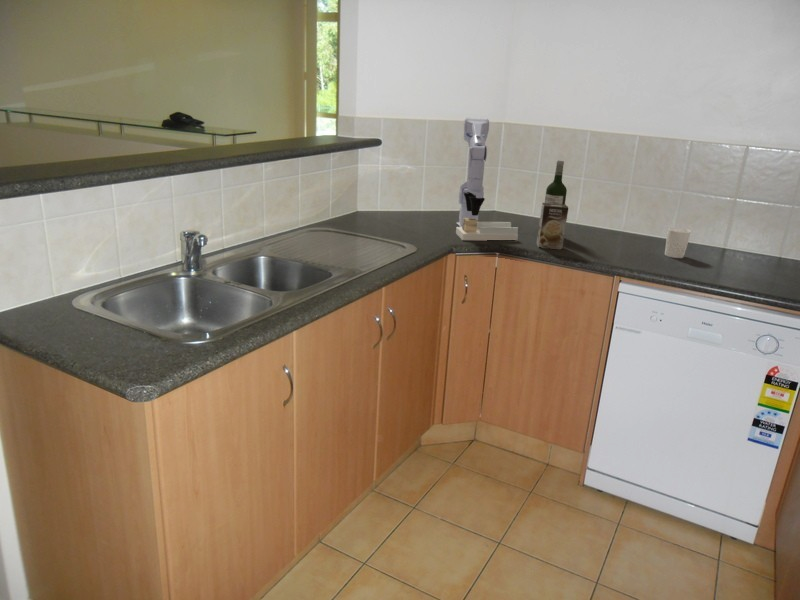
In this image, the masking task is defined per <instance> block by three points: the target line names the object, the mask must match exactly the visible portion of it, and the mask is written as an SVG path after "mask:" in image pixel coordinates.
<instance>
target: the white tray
mask: <svg viewBox="0 0 800 600" xmlns="http://www.w3.org/2000/svg"><path fill="white" fill-rule="evenodd" d="M455 229H456V230H455V234H456V235H457V237H459V238H460V240H461V241H487V240H517V241H518V237H519V233H518V232H519V227H518V226H517V227H515V226H513V227H512V222H511V221H478V222H477V229H476V232H465V231H464V230H463V229H462V227H460V226H456V227H455Z"/></svg>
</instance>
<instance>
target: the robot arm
mask: <svg viewBox="0 0 800 600" xmlns="http://www.w3.org/2000/svg"><path fill="white" fill-rule="evenodd" d="M463 126H464V127H463V139H464V141H465V142H467V144H468V161H467V162H468V163H467V176H466V177H467V178H466V179H467V180H466V181H465V182H463V183H462V184H460V187H459V194H458V204H459V205H461V206H460V208H459V216H458V221H456V225H457V226H458V227H462V225H463V218H475V219H476V220H477V222H479V213H480V210H481V207H482V206H483V205H484V204H483V203H484V202H485V199H486V198H485V197H484V196H485V195H484V193H485V192H484V186H483V182H484V173H485V172H484V171H485V165H486V164H485V162H486V161H487V156H488V146H487V145H486V142H487V138H488V135H489V130H490V120H489V119H488V118H486V119H485V118H470V117H469V118H468V117H465V119H464V123H463Z"/></svg>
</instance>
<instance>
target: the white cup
mask: <svg viewBox="0 0 800 600" xmlns="http://www.w3.org/2000/svg"><path fill="white" fill-rule="evenodd" d="M691 232H692V231H691V230H690V229H688V228H683V227H675V226H673V227H672V226H671V227H668V228H667V233H666V239H665V250H664V255H665V256H666V257H668V258H672V259H673V258H674V259H683V258H684V257H685V253H686V250H687V247H688V243H689V240H690V236H691V234H692V233H691Z"/></svg>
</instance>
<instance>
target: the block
mask: <svg viewBox="0 0 800 600" xmlns="http://www.w3.org/2000/svg"><path fill="white" fill-rule="evenodd" d="M462 229H463V230H464V231H465V232H476V229H477V220H476V219H475V218H463V225H462Z"/></svg>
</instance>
